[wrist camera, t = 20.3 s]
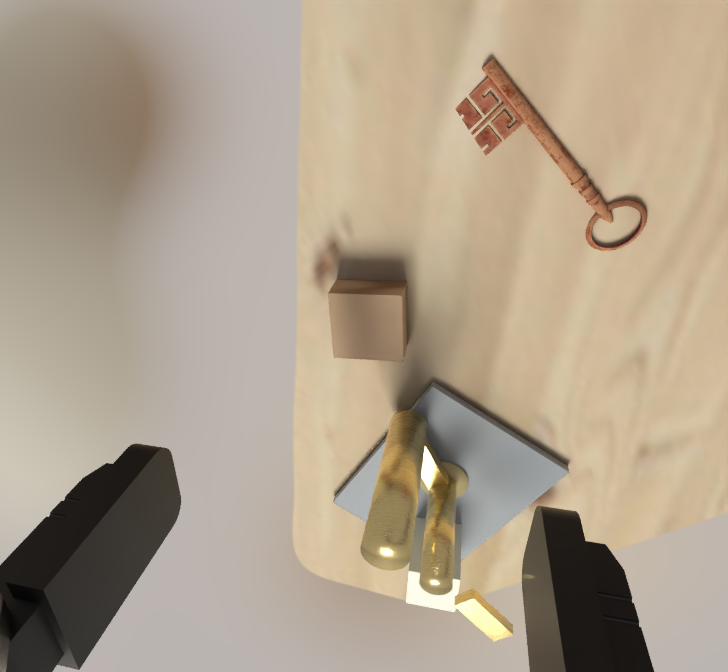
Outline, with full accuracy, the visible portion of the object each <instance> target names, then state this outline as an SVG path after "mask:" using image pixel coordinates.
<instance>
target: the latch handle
mask: <svg viewBox="0 0 728 672" xmlns="http://www.w3.org/2000/svg"><path fill="white" fill-rule="evenodd" d="M427 427H428V426H427V422H426V420H425V419H424V418H423V416H421V415H420V414H418V413H416V412H414V411H408V410H405V411H400V412H398V413H396V414H395V415H394V416H393V417H392V419H391V421H390V425H389V430H388V434H387V438H386V442H385V447H384V451H383V455H382V459H381V463H380V468H379V472H378V476H377V480H376V485H375V489H374V493H373V497H372V501H371V506H370V510H369V514H368V518H367V523H366V527H365V531H364V535H363V540H362V544H361V554H362V556H363V558H364V559H365V560H366V561H367V562H368V563H369V564H371V565H373V566H374V567H377V568H379V569H383V570H398V569H401V568H404V567H405V566H406V565H407V564H408V563H409V562H410V559H411V551H412V544H413V536H414V528H415V521H416V513H417V505H418V497H419V490H420V482H421V477H422V479H423V481H424V482H425V484H426V485H427V487H428V489H429V496H428V505H427V514H426V524H425V533H424V542H423V552H422V561H421V570H420V580H419V584H420V586H421V588H422V589H423V590H424V591H426V592H428V593H430V594H433V595H445V594H447V593H449V592H450V591H451V590H452V587H453V563H454V539H455V516H456V492H457V483H456V481H455V480H454V479H453V478H452V477H450V476H449V475H448V473H447V472H446V470H445V468H444V467H443V465H442V463H441V461H440V460H439V458H438V456H437V454H436V453H435V451H434V449H433V447H432V446H431V444H430V442H429V441H428V439H427V437H426V436H427ZM454 606H455V607H456V608H457V609H459V610H460V611H461V612H462V613H463V614H464V615H465V616H466V617H467V618H468V619H470V620H471V621H472V622H473V623H474V624H475V625H476V626H478V628H480V629H481V630H482V631H483V632H484V633H485V634H486V635H487V636H488V637H490V638H491V639H492V640H493V641H496V640H499V639H502V638H505V637H508V636H511V635H513V625H512V624H511V623H510V622H509V621H508V620H507V619H506V618H505V617H503V616H502V615H501V614H500V613H499V612H498V611H497V610H496V609H495V608H494V607H493V606H491V604H489V603H488V602H487V601H486V600H485V599H484V598H483V597H482V596H481V595H480V594H479V593H478V592H476V591H475V590H474V589H472V590H469V591H467V592H464V593H462V594H459V595H457V596H455V605H454Z"/></svg>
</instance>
